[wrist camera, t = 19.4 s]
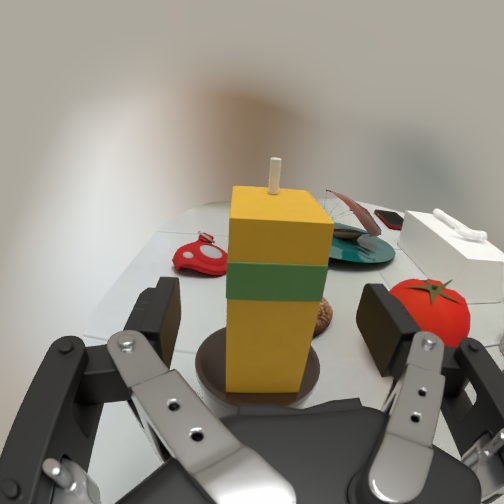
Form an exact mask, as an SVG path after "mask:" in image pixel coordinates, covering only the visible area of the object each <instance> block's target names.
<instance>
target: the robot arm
mask: <svg viewBox="0 0 504 504" xmlns="http://www.w3.org/2000/svg"><path fill="white" fill-rule="evenodd" d="M180 321H181V301H180V286H179V278H178V277H160V279H159V281H158V283H157V286H156V288H147V289H146V290H144V291H143V292H142V293H141V294H140V295H139V297H138V299H137V301H136V303H135V306H134V308H133V310H132V312H131V314H130V316H129V318H128V321H127V323H126V325H125V327H124V329H123V331H120V332H117V333H115V334H114V335H112V336H111V337H110V338H109V340H108V342H107V344H105V345H100V346H90V347H85V344H84V342H83V340H82V339H80V338H79V337H76V336H64V337H61V338H59V339H57V340H56V341H54V342H53V343H52V344H51V347H50V348H49V350H48V351H47V353H46V355H45V357H44V359H43V361H42V363H41V365H40V367H39V369H38V371H37V373H36V375H35V377H34V379H33V381H32V383H31V385H30V387H29V389H28V391H27V393H26V395H25V398H24V400H23V402H22V404H21V406H20V409H19V411H18V413H17V416H16V418H15V420H14V423H13V425H12V427H11V430H10V433H9V435H8V438H7V440H6V443H5V446H4V448H3V451H2V454H1V457H0V504H101V502H100V492H99V488H98V486H97V484H96V483H95V482H94V481H93V480H92V478H91V477H90V476H89V475H88V474H87V472H88V467H89V463H90V458H91V453H92V449H93V445H94V440H95V436H96V432H97V428H98V424H99V420H100V416H101V413H102V409H103V405H104V403H108V402H117V401H126V403H127V404H128V406H129V408H130V410H131V412H132V413H133V415H134V417H135V418H136V420H137V422H138V423H139V425H140V427H141V428H142V430H143V432H144V433H145V435H146V437H147V438H148V440H149V442H150V444H151V446H152V448H153V449H154V451H155V453H156V454H157V456H158V457H159V459H160V460H161V462H162V463H163V464H162V465H161V466H160V467H159V468H158V469H157V470H155V471H154V472H153V473H152V474H151V475H149V476H148V477H147V478H146V479H145V480H143V481H142V482H141V483H140V484H138V485H137V486H136V487H135V488H134V489H132V490H131V491H130V492H128V493H127V494H126V495H125V496H123V497H122V498H121V499H120V500H118V501H117V502H116V503H115V504H481V503H483V504H489V503H492V502H493V501H495V500H496V499H498V498H499V497H500V496H502V495H503V494H504V375H503V373H502V372H501V370H500V369H499V367H498V366H497V364H496V363H495V361H494V360H493V359H492V357H491V356H490V354H489V353H488V352H487V350H486V349H485V347H484V346H483V345H482V344H481V343H480V342H479V341H477V340H475V339H473V338H463V339H461V341H460V342H459V344H458V346H457V347H452V346H444V343H443V341H442V340H441V339H440V338H439V337H438V336H437V335H435V334H433V333H431V332H427V331H422V329H421V328H420V327H419V325H418V324H417V322H416V321H415V320H414V318H413V317H412V316H411V315H410V313H409V311H408V310H407V309H406V307H405V306H404V305H403V303H402V302H401V301H400V300H399V299H398V298H396V297H395V296H394V295H392V294H390V293H389V291H388V290H387V289H386V287H385V286H384V285H383V284H366V285H365V286H364V289H363V292H362V296H361V299H360V303H359V306H358V310H357V314H356V323H357V326H358V328H359V330H360V332H361V334H362V336H363V338H364V340H365V343H366V345H367V347H368V349H369V351H370V353H371V355H372V357H373V359H374V361H375V363H376V365H377V368H378V370H379V372H380V374H381V376H382V377H388V376H393V378H394V379H393V381H392V383H391V385H390V387H389V390H388V393H387V395H386V398H385V400H384V403H383V405H382V407H381V410H377V409H374V408H370V407H365V406H362V404H361V402H360V399H359V398H352V399H343V400H333V401H329V402H326V403H322V404H319V405H316V406H313V407H309V408H305V409H297V408H291V407H285V406H279V405H273V404H238V409H237V413H233V414H229V415H226V416H223V417H220V418H217V417H216V416H215V415H214V413H213V412H212V411H211V410H210V409H209V408H208V407H207V405H206V404H205V403H204V402H203V401H202V400H201V399H200V397H199V396H198V395H197V394H196V393H195V391H194V390H193V389H192V388H191V387H190V385H189V384H188V383H187V382H186V380H185V379H184V378H183V377H182V376H181V374H180V373H179V372H178V371H177V370H175V369H173V370H169V369H170V365H171V360H172V356H173V351H174V347H175V343H176V338H177V334H178V330H179V326H180ZM469 381H470V382H471V384H472V386H473V388H474V389H475V391H476V394H477V399H476V402H475V404H474V405H472V403H471V401H470V399H469V397H468V395H467V393H466V392H465V390H464V389H465V387H466V386H467V384H468V383H469ZM440 409H441V412H442V414H443V416H444V418H445V420H446V423H447V425H448V427H449V430H450V432H451V434H452V437H453V439H454V441H455V444H456V446H457V449H458V451H459V454H460V456H461V461H459V460H457V459H456V458H454V457H453V456H451V455H449V454H448V453H446V452H445V451H443V450H441V449H440V448H438V447H437V446H435V445H433V444H432V443H433V439H434V435H435V431H436V426H437V422H438V417H439V412H440Z"/></svg>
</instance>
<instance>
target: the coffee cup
mask: <svg viewBox="0 0 504 504" xmlns="http://www.w3.org/2000/svg"><path fill="white" fill-rule="evenodd" d="M195 369H196V376H197V379H198V382H199V384H200V386H201V389H202V400H203V402H204V403H205V404H206V405H207V407H208V408H209V409H210V410H211V411H212V412H213V413H214V415H215V416H216V417H217V418H220V417H223V416H226V415H229V414H233V413H237V409H238V404H273V405H279V406H285V407H291V408H297V409H304V408H305V405H306V402H307V399H308V397H309V396H310V395H311V394H312V392H313V391H314V389H315V387H316V384H317V381H318V378H319V374H320V364H319V359H318V357H317V354H316V352H315V351H314V349H313V348H312V346H311V345H310V349H309V353H308V357H307V361H306V365H305V369H304V373H303V377H302V381H301V384H300V388H299V392H293V393H234V392H226V327H225V328H222V329H220V330H218V331H216V332H214V333H213V334H211V335H210V336H209V337H208V338H206V339H205V341H204V342H203V343H202V344H201V346H200V347H199V349H198V351H197V354H196V358H195Z"/></svg>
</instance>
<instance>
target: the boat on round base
mask: <svg viewBox="0 0 504 504" xmlns="http://www.w3.org/2000/svg"><path fill="white" fill-rule="evenodd" d="M326 191H329V190H326ZM330 192H332V193H333V194H335V195H336V196H337V197H339V198H340V199H341V200H342V201H344V202H345V203H346V204H347V205H348V206H349V208H350V209H351V210H350V211H353V212H354V213H353V214H355V215H356V217H357V218H358V219H359V221H360V222H361V224H362V225H363V226H364V228H365V229H366V230H367V231H365V230H362V229H359V228H355V227H352V226H348V225H344V224H340V223H335V222H334V223H335V226H334V232H333V238H332V244H331V249H330V255H329V257H332V258H336V259H341V260H348V261H355V262H370V263H374V262H385V261H389V260H391V259H392V258H393V257H394V255H395V251H394V249H393V248H392V247H391V246H390V245H389V244H388V243H387V242H385V241H383V240H381V239H380V238H378V237H376V236H378V235H381V229H380V227H379V226H378V225H377V224H376V222H375V221H374V219H373V218H372V216H371V215H370V213H369V212H368V211H367V209H365V208H363V207H362V206H360V205H359V204H357V203H356V202H354V201H353V200H351V199H349V198H347V197H346V196H344V195H342V194H339V193H336V192H333V191H330ZM325 200H326V199H325ZM336 206H337V205H336ZM324 208H325V207H324ZM331 212H332V211H331ZM342 214H343V213H342ZM349 215H350V214H349ZM342 217H343V216H342ZM333 218H334V217H333ZM332 220H333V219H332Z"/></svg>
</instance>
